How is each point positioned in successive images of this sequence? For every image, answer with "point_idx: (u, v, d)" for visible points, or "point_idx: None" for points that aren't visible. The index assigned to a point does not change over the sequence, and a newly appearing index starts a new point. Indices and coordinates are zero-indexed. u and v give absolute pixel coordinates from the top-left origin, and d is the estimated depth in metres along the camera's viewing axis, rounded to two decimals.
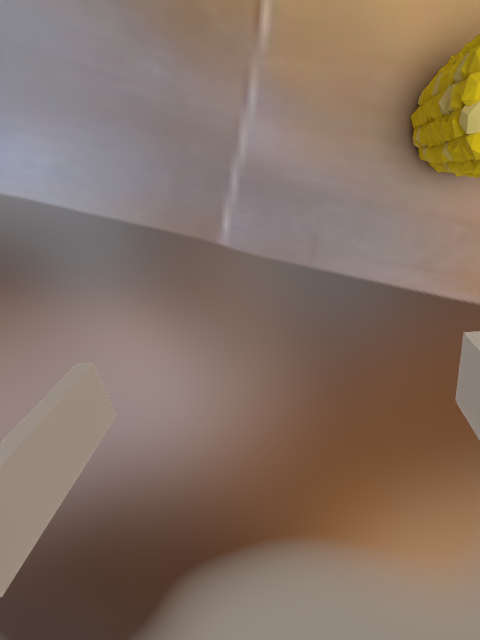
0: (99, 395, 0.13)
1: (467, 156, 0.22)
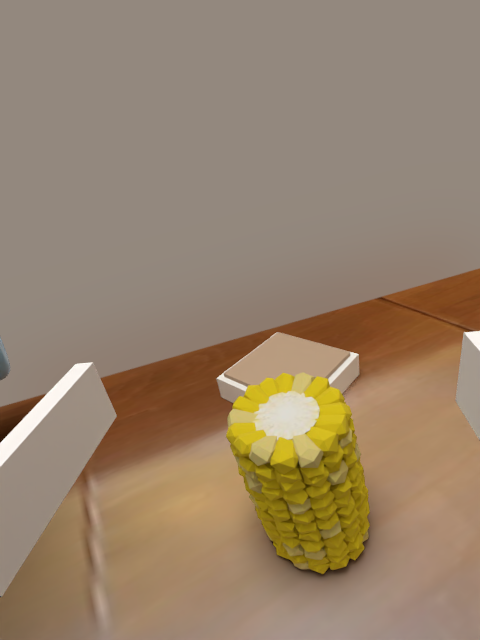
0: (99, 395, 0.13)
1: (292, 477, 0.22)
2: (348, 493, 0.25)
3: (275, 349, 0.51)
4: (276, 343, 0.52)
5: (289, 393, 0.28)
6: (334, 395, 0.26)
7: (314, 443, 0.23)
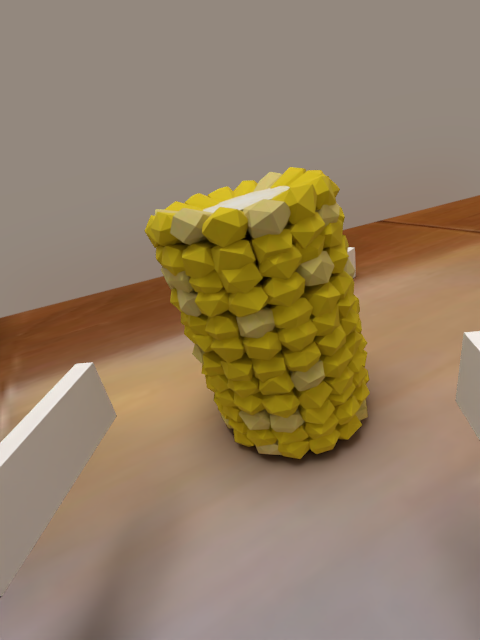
0: (99, 395, 0.13)
1: (237, 252, 0.13)
2: (335, 310, 0.16)
3: None
4: None
5: (249, 193, 0.19)
6: (313, 173, 0.17)
7: None
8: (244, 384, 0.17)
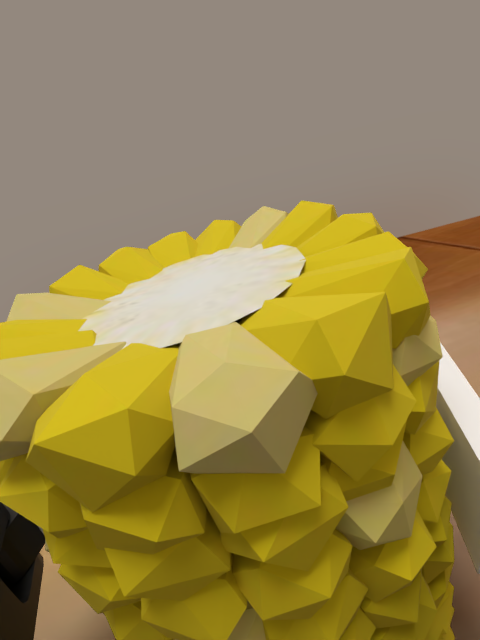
0: None
1: (141, 530, 0.04)
2: (418, 573, 0.06)
3: None
4: None
5: (221, 253, 0.09)
6: (357, 223, 0.08)
7: (271, 348, 0.04)
8: None
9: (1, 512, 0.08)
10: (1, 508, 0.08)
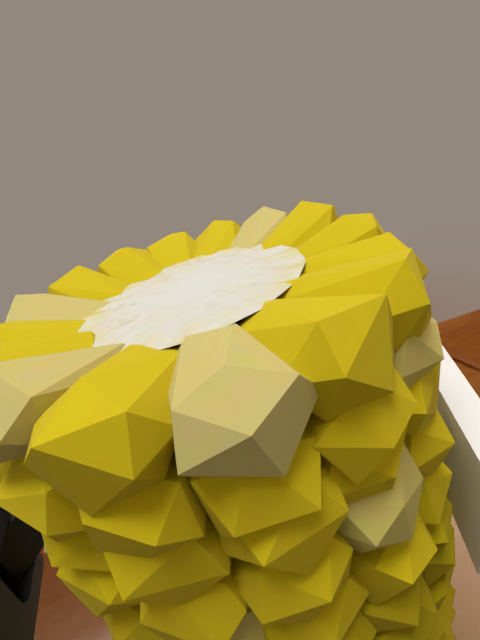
0: None
1: (140, 534, 0.04)
2: (419, 576, 0.06)
3: None
4: None
5: (220, 253, 0.09)
6: (358, 224, 0.07)
7: (271, 350, 0.04)
8: None
9: (1, 512, 0.08)
10: (1, 508, 0.08)
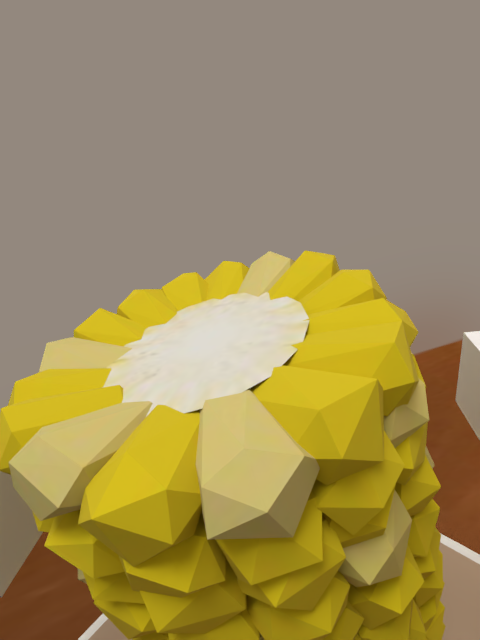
0: None
1: (174, 582, 0.05)
2: (409, 603, 0.07)
3: None
4: None
5: (230, 299, 0.10)
6: (356, 282, 0.08)
7: (280, 424, 0.05)
8: None
9: None
10: None
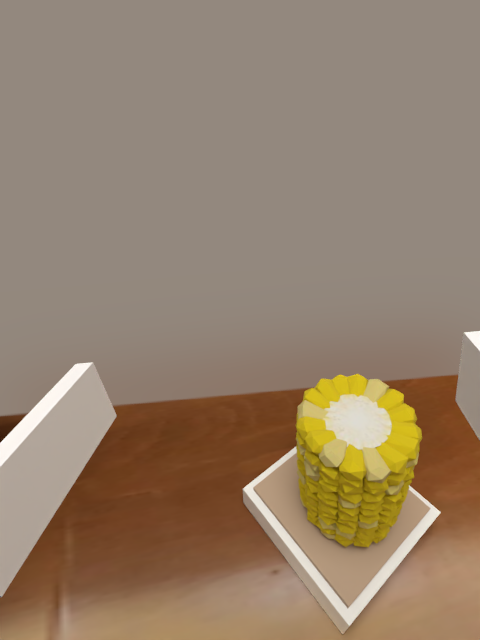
0: (99, 395, 0.13)
1: (355, 485, 0.24)
2: (395, 501, 0.27)
3: None
4: None
5: (361, 398, 0.28)
6: (408, 415, 0.26)
7: (384, 461, 0.24)
8: (329, 515, 0.29)
9: None
10: None
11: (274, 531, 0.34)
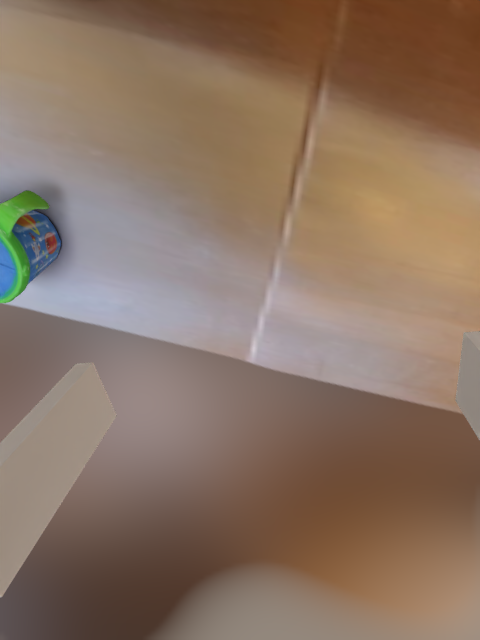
0: (99, 395, 0.13)
1: None
2: None
3: None
4: None
5: None
6: None
7: None
8: None
9: None
10: None
11: None
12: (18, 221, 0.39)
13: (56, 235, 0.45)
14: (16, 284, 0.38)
